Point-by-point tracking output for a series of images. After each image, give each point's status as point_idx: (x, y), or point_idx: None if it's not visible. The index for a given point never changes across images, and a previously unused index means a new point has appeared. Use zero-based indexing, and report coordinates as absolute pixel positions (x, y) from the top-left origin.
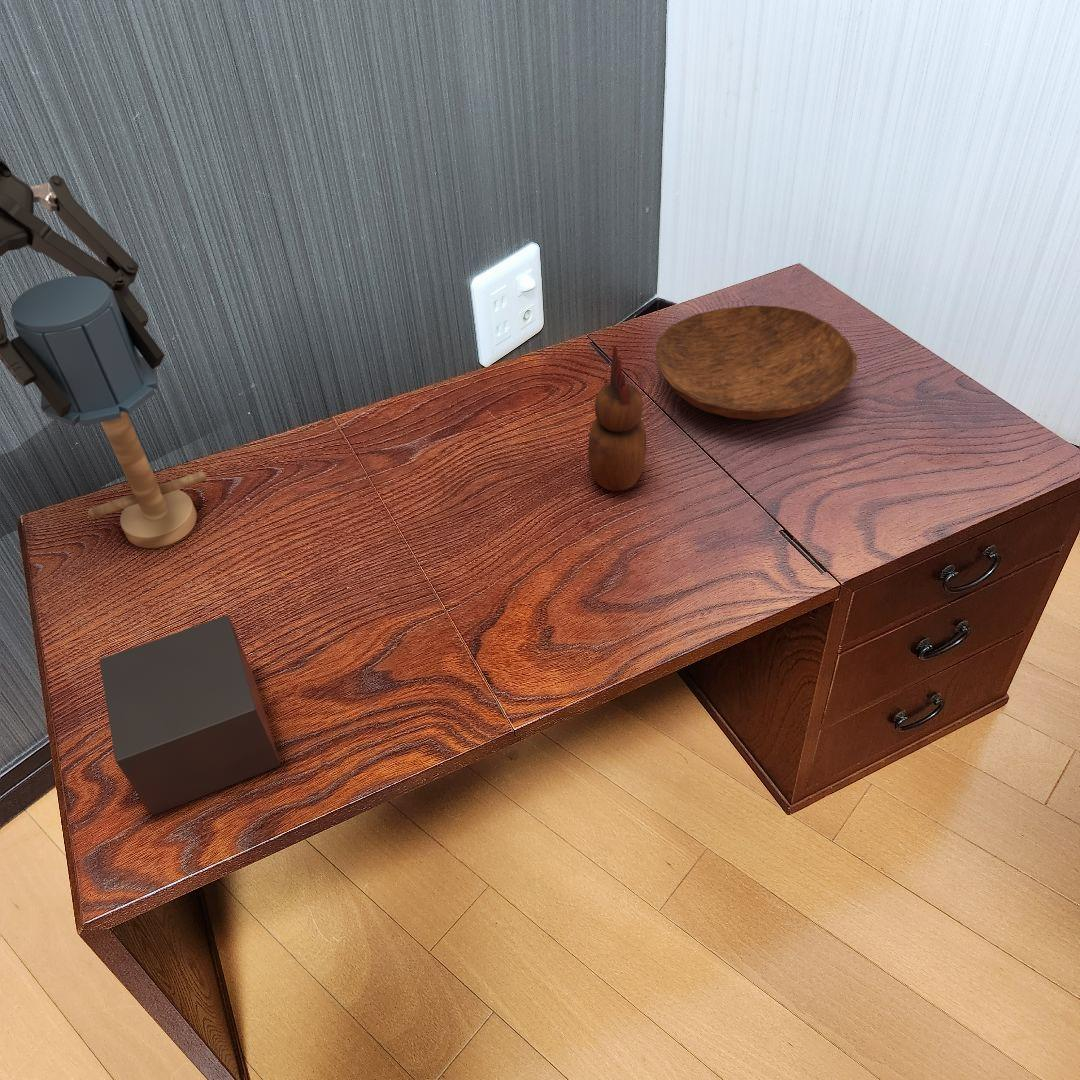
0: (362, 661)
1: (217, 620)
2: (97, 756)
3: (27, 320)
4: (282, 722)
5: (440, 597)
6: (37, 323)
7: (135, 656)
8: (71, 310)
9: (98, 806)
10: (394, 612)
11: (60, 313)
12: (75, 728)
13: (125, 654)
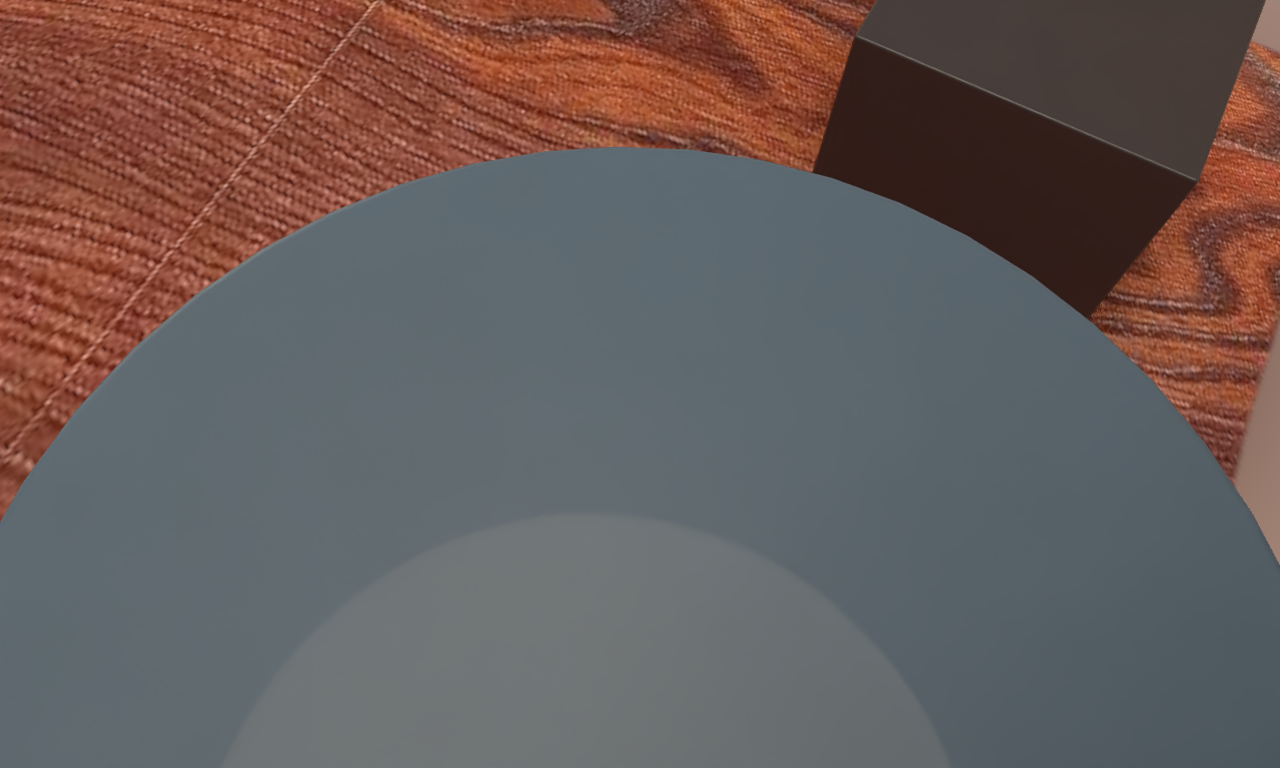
0: (613, 48)
1: (887, 40)
2: (1194, 316)
3: (1228, 631)
4: (841, 77)
5: (353, 24)
6: (1155, 448)
7: (1115, 117)
8: (716, 354)
9: (1241, 221)
10: (453, 75)
11: (845, 401)
12: (1206, 419)
13: (1134, 138)
